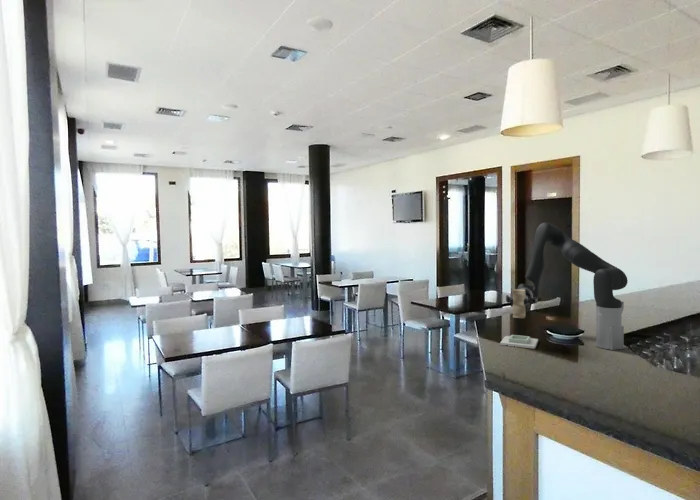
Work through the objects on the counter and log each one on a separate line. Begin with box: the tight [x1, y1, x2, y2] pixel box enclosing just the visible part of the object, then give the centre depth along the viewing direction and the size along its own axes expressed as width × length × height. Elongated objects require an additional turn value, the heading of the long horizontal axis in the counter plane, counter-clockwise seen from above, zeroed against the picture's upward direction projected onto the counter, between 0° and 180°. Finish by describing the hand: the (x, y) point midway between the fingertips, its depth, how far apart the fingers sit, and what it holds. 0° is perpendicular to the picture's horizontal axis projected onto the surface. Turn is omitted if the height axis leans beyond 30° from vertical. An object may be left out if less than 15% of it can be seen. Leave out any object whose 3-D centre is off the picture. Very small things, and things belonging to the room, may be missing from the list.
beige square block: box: [512, 288, 526, 319], centre depth 187 cm, size 5×5×12 cm
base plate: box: [499, 334, 539, 350], centre depth 188 cm, size 14×14×2 cm
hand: (518, 302), depth 185 cm, fingers closed on beige square block, 4 cm apart
